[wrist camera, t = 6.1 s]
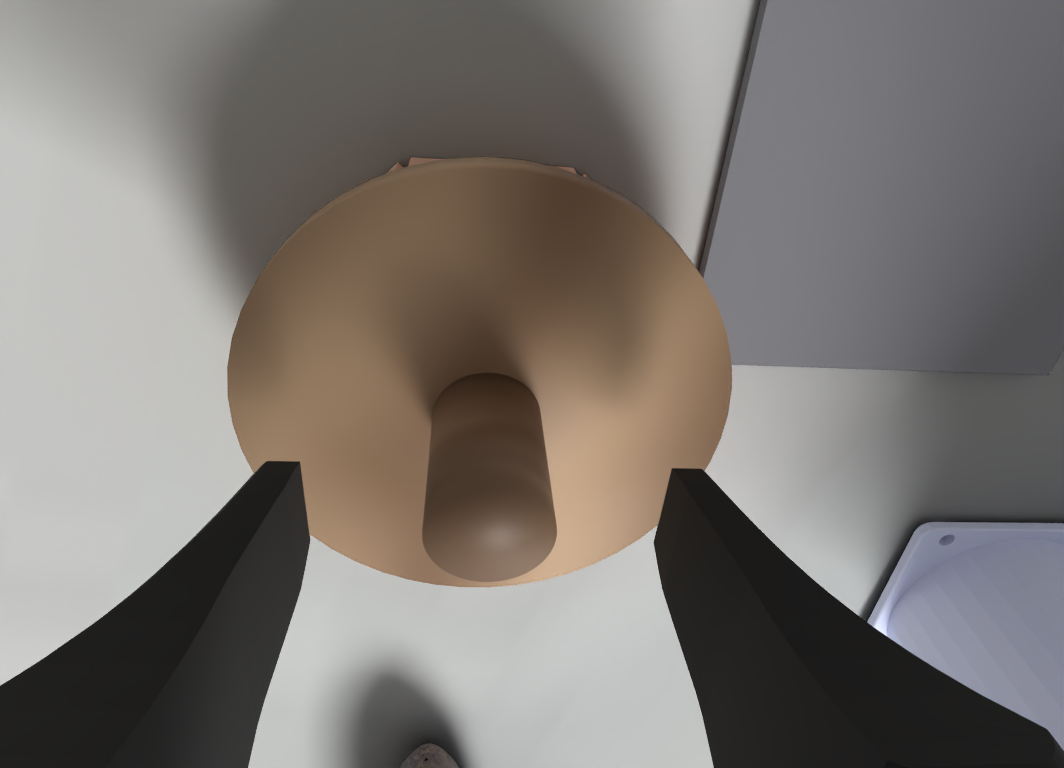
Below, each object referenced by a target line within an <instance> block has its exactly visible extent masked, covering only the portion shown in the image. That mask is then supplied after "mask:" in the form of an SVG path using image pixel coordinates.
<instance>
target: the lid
mask: <svg viewBox="0 0 1064 768" xmlns="http://www.w3.org/2000/svg"><path fill="white" fill-rule="evenodd" d="M227 372H228V400H229V406H230V411H231V417H232V423H233V426H234V429H235V432H236V435H237V438H238V441H239V444H240V446H241V449H242V451H243V453H244V455H245V457H246V459H247V461H248V463H249V465H250V467H251V469H252V471H253V473H255V472H256V471H257V470H258V469H259V467H260V466H261V465H262V464H264V463H265V462H266V461H300V466H301V473H302V481H303V489H304V496H305V504H306V512H307V519H308V527H309V534H310V535H312V536H313V537H315V538H316V539H318V540H319V541H321V542H322V543H324V544H325V545H327V546H328V547H330V548H331V549H333V550H335V551H337V552H339V553H341V554H343V555H345V556H346V557H348V558H350V559H352V560H354V561H356V562H359V563H361V564H364V565H366V566H369V567H371V568H374V569H376V570H379V571H381V572H384V573H388V574H391V575H395V576H398V577H402V578H405V579H409V580H414V581H420V582H425V583H430V584H436V585H446V586H457V587H497V586H509V585H518V584H524V583H530V582H536V581H541V580H546V579H549V578H553V577H557V576H560V575H564V574H568V573H571V572H573V571H576V570H579V569H581V568H584V567H587V566H590V565H592V564H595V563H597V562H599V561H601V560H603V559H605V558H607V557H609V556H611V555H613V554H615V553H617V552H619V551H621V550H622V549H624V548H625V547H627V546H629V545H630V544H632V543H634V542H635V541H637V540H638V539H640V538H641V537H643V536H644V535H645V534H646V533H648V532H649V531H650V530H652V529H653V528H654V527H656V526H657V525H658V523H659V519H660V515H661V511H662V507H663V503H664V498H665V494H666V490H667V486H668V482H669V478H670V474H671V470H672V468H692V469H702V470H703V471H705V469H706V468H707V466H708V464H709V463H710V461H711V459H712V456H713V454H714V452H715V450H716V448H717V445H718V443H719V441H720V439H721V436H722V432H723V429H724V426H725V422H726V419H727V415H728V410H729V403H730V396H731V389H732V364H731V355H730V349H729V343H728V337H727V332H726V329H725V326H724V323H723V320H722V317H721V314H720V312H719V309H718V306H717V304H716V302H715V300H714V298H713V296H712V294H711V292H710V290H709V289H708V287H707V285H706V283H705V281H704V279H703V278H702V276H701V275H700V273H699V272H698V270H697V269H696V267H695V266H694V265H693V263H692V262H691V260H690V259H689V258H688V256H687V255H686V254H685V253H684V251H683V250H682V249H681V247H680V246H679V245H678V243H677V242H676V241H675V239H674V238H673V237H672V236H671V235H670V234H669V233H668V232H667V231H666V230H665V229H664V228H663V227H662V226H661V225H660V224H659V223H658V222H657V221H656V220H655V219H654V218H652V217H651V216H650V215H649V214H648V213H646V212H645V211H643V210H642V209H641V208H639V207H638V206H637V205H635V204H634V203H632V202H631V201H630V200H628V199H627V198H626V197H624V196H623V195H621V194H619V193H617V192H615V191H613V190H611V189H609V188H607V187H605V186H604V185H602V184H600V183H598V182H596V181H594V180H592V179H589V178H587V177H584V176H581V175H578V174H575V173H573V172H570V171H567V170H564V169H561V168H559V167H555V166H550V165H545V164H540V163H536V162H531V161H526V160H522V159H509V158H495V157H468V158H451V159H442V160H437V161H432V162H427V163H422V164H416V165H411V166H407V167H404V168H401V169H398V170H395V171H392V172H390V173H387V174H384V175H381V176H378V177H375V178H372V179H370V180H368V181H366V182H364V183H362V184H360V185H358V186H357V187H355V188H353V189H351V190H349V191H347V192H345V193H343V194H341V195H339V196H338V197H336V198H335V199H334V200H332V201H331V202H329V203H328V204H326V205H325V206H324V207H322V208H321V209H319V210H318V211H317V212H315V213H314V214H312V215H311V216H310V217H309V218H308V219H307V220H306V221H305V222H304V223H303V224H302V225H301V226H300V227H299V228H298V229H297V230H295V231H294V232H293V233H292V234H291V235H290V236H289V237H288V238H287V239H286V241H285V242H284V243H283V245H282V246H281V247H280V249H279V250H278V251H277V252H276V254H275V255H274V256H273V258H272V259H271V260H270V262H269V263H268V264H267V266H266V267H265V269H264V270H263V272H262V273H261V275H260V276H259V278H258V279H257V281H256V283H255V285H254V287H253V289H252V291H251V292H250V294H249V296H248V298H247V300H246V302H245V304H244V306H243V307H242V310H241V313H240V316H239V319H238V322H237V325H236V328H235V331H234V334H233V337H232V341H231V348H230V354H229V361H228V367H227Z"/></svg>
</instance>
